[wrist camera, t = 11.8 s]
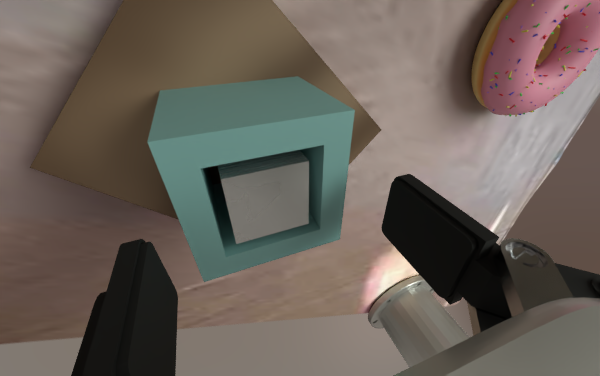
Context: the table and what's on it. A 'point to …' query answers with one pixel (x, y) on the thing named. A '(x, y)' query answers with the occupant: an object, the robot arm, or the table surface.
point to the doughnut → (533, 52)
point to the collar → (242, 146)
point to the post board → (183, 74)
